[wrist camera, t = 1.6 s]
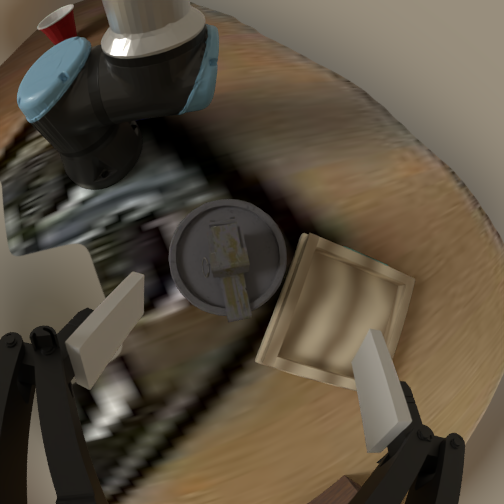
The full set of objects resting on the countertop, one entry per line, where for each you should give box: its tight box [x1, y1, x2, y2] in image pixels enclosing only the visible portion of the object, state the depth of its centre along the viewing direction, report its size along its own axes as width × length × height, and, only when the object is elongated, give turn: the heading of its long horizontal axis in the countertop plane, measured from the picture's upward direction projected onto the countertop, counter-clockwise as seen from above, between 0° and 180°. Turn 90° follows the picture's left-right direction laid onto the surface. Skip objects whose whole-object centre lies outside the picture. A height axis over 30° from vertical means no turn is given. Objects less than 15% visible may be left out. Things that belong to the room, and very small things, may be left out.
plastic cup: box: [37, 4, 77, 45], centre depth 43 cm, size 11×11×12 cm
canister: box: [169, 199, 287, 322], centre depth 32 cm, size 11×10×20 cm
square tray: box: [255, 233, 415, 391], centre depth 40 cm, size 20×20×4 cm
